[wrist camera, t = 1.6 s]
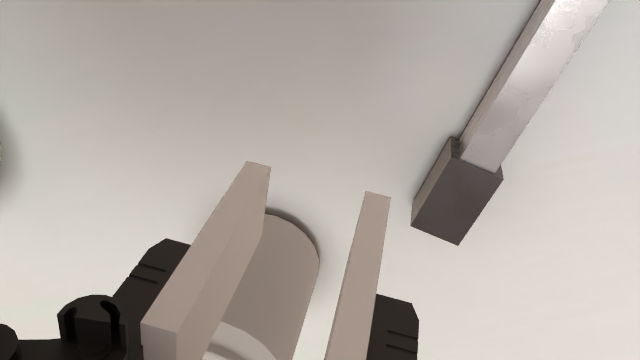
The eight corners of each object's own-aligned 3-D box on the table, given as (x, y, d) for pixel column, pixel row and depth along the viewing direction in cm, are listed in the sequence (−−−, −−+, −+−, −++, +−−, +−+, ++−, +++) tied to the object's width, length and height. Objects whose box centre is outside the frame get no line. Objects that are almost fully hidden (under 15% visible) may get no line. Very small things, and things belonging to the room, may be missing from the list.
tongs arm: (687, -275, 19) (741, -307, 15) (761, -243, 19) (833, -267, 15) (412, 203, 32) (408, 243, 28) (457, 221, 32) (459, 264, 28)
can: (315, 206, 34) (262, 351, 24) (326, 292, 37) (284, 448, 27) (209, 204, 35) (117, 338, 25) (230, 286, 39) (157, 431, 29)
